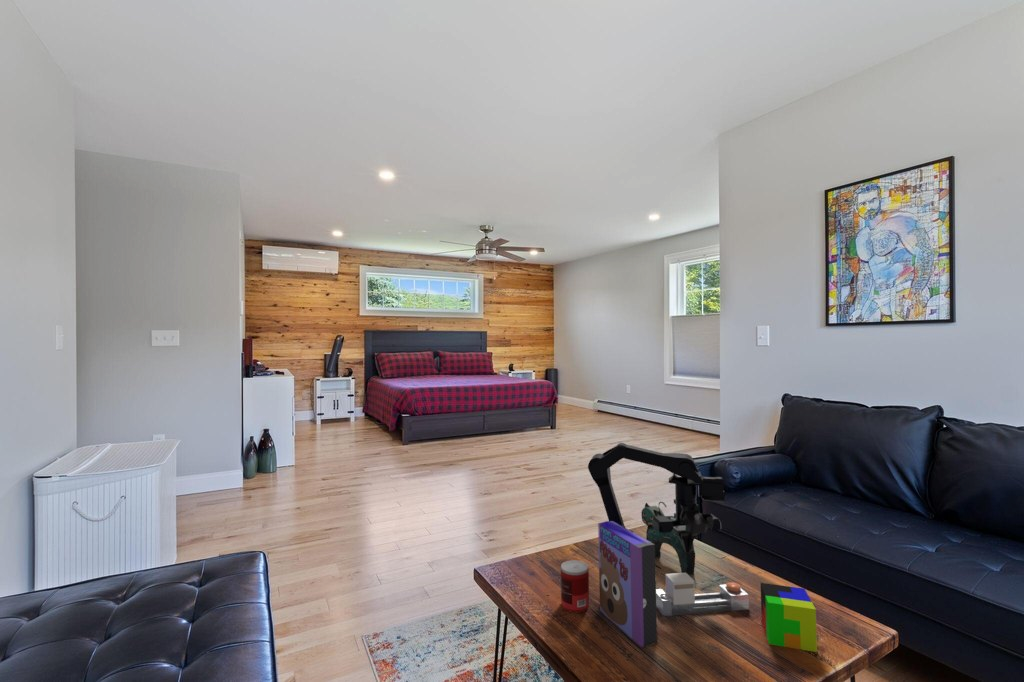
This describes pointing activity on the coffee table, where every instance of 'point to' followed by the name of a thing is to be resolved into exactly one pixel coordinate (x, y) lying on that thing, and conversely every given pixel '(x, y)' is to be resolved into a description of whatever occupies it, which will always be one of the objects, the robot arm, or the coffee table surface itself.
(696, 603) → the rail
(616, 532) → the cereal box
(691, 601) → the carriage
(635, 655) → the coffee table surface
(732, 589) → the button
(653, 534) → the ceramic cat
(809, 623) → the puzzle toy
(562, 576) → the canned food
